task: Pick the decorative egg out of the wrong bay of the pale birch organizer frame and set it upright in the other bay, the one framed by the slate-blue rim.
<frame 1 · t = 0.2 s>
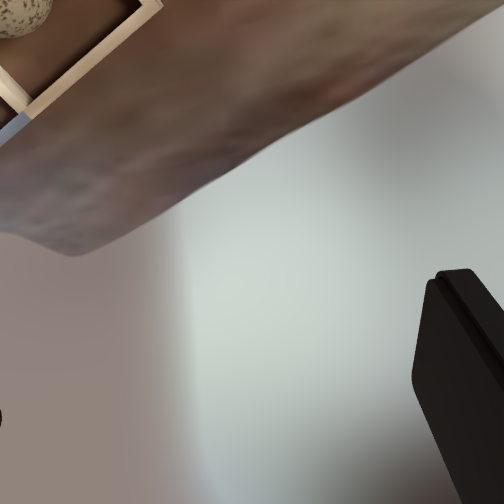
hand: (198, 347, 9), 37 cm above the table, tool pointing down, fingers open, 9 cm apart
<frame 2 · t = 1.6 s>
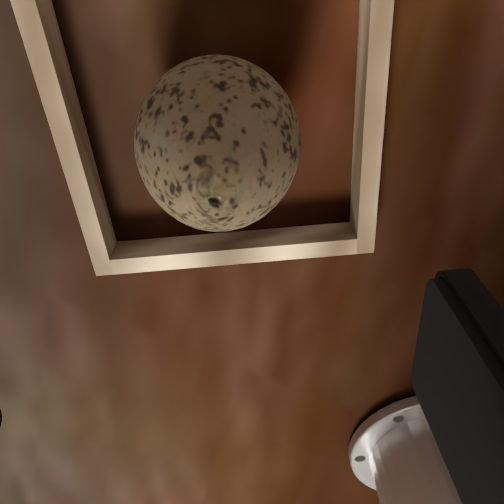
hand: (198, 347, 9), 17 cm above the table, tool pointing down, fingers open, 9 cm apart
decorative egg: (220, 113, 24), resting in organizer frame
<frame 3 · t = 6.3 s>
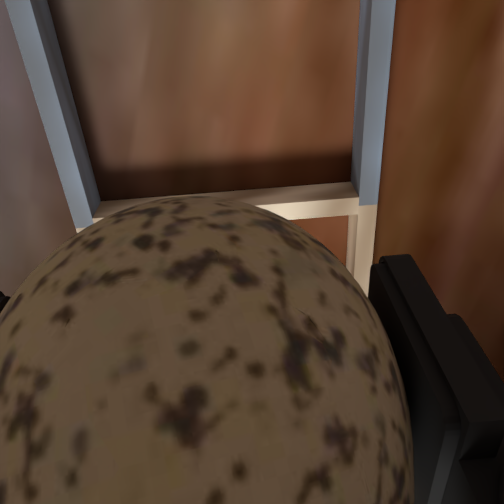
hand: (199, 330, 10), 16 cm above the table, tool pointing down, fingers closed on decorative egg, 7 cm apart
organizer frame: (226, 199, 26), on the table
decorative egg: (204, 263, 12), point 14 cm above the table, touching gripper
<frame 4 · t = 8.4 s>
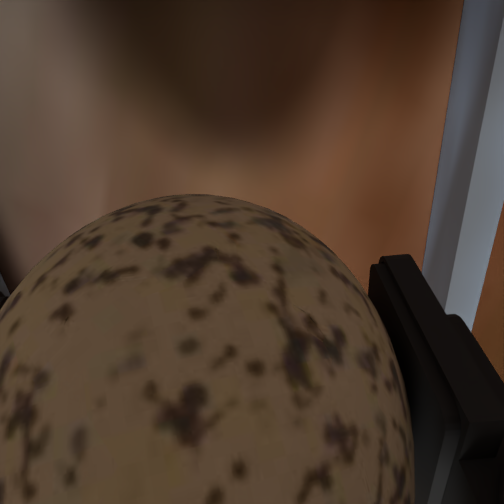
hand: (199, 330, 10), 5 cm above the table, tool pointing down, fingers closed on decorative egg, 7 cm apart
organizer frame: (230, 374, 18), on the table
decorative egg: (204, 262, 12), point 3 cm above the table, touching gripper
when the fingers open (4 cm above the table, at t = 9.4 s): decorative egg drops 1 cm, resting in organizer frame.
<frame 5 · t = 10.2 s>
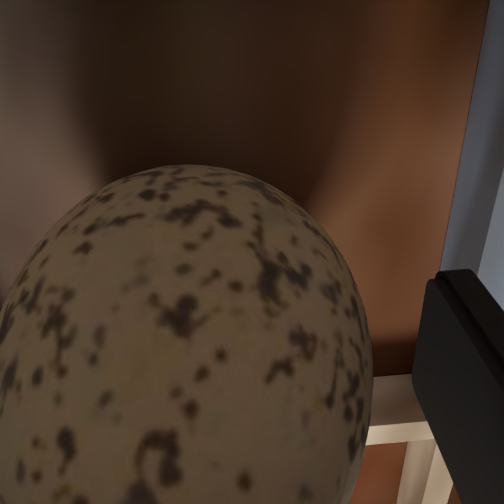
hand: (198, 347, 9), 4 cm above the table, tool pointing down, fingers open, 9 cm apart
organizer frame: (229, 399, 17), on the table
decorative egg: (201, 233, 13), resting in organizer frame
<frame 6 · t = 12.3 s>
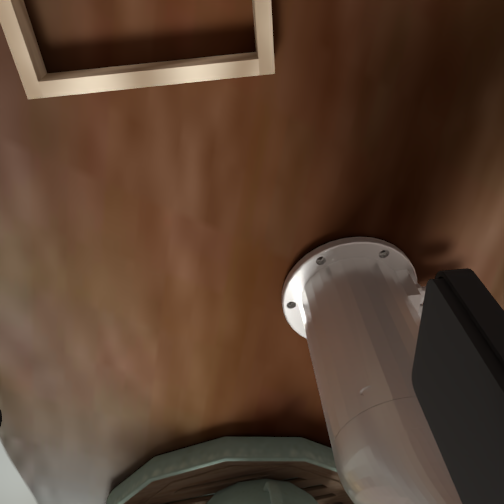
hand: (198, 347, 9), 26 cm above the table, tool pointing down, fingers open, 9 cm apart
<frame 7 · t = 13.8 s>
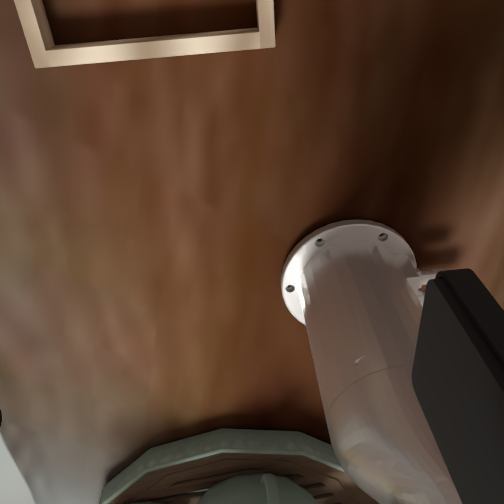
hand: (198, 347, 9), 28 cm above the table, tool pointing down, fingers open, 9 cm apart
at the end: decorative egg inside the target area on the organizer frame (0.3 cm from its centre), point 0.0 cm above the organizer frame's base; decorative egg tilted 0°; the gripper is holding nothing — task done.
